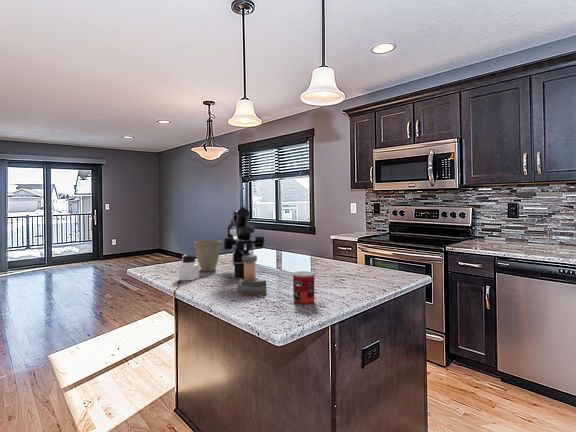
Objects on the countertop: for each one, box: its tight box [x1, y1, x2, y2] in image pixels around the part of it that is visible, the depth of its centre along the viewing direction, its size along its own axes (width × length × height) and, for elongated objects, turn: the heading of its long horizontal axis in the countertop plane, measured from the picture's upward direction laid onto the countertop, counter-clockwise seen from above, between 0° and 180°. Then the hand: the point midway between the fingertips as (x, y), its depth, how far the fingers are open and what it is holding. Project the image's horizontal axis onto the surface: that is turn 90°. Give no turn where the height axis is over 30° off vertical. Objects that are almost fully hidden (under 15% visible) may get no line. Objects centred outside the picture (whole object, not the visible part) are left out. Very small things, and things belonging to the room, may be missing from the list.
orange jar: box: [242, 254, 258, 281], centre depth 156 cm, size 6×6×13 cm
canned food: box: [292, 270, 315, 305], centre depth 136 cm, size 8×8×11 cm
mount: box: [237, 277, 267, 297], centre depth 153 cm, size 14×10×6 cm
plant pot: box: [193, 239, 222, 272], centre depth 199 cm, size 15×15×16 cm
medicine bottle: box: [178, 254, 200, 281], centre depth 177 cm, size 7×7×12 cm
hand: (246, 257), depth 164 cm, fingers closed
